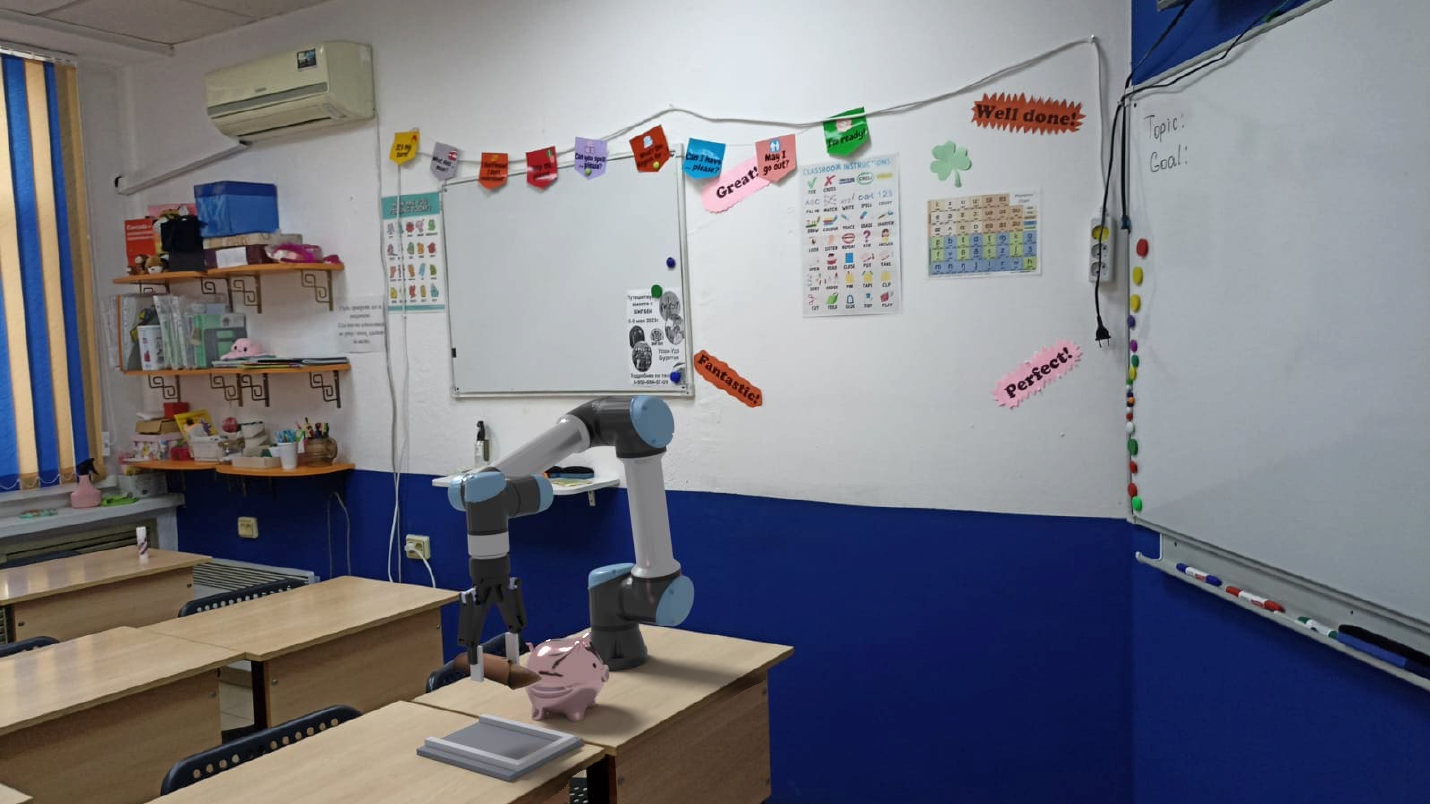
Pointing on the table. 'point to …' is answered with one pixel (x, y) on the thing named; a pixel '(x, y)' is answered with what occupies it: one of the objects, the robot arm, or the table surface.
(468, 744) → the rail cradle
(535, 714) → the piggy bank
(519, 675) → the sunglasses case
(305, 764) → the table surface
